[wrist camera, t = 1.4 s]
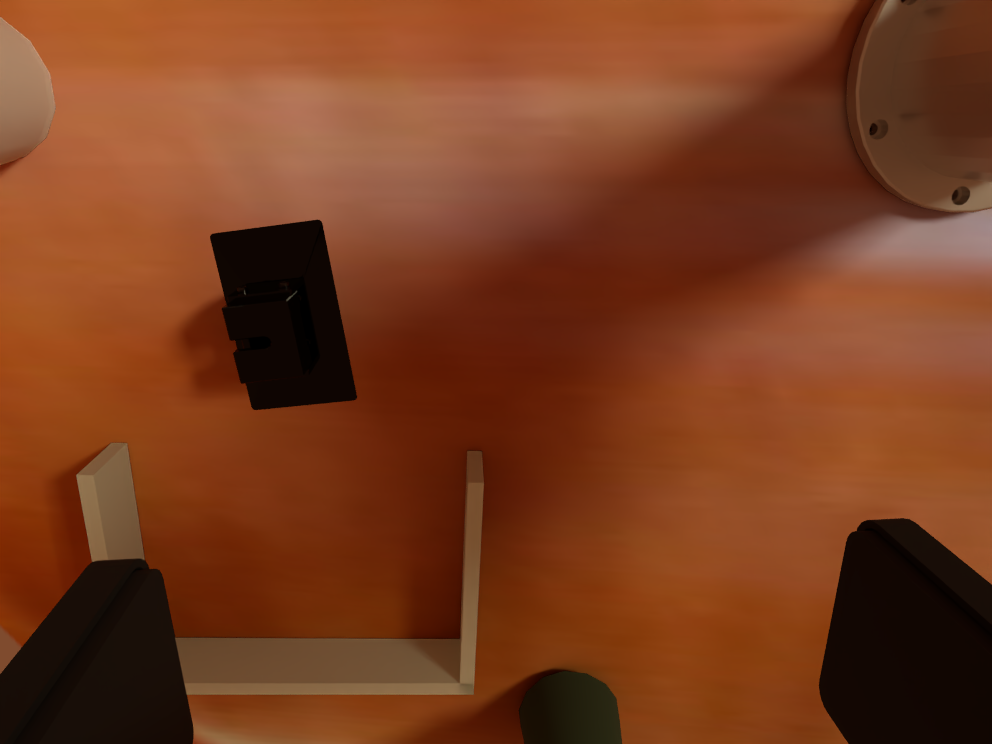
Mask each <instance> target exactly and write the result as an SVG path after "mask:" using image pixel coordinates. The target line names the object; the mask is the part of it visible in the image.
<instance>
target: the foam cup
mask: <svg viewBox="0 0 992 744" xmlns="http://www.w3.org/2000/svg"><path fill="white" fill-rule="evenodd" d="M55 109H56V108H55V101H54V95H53V89H52V82H51V76H50V73H49V71H48V69H47V68H46V66H45V64H44V63H43V61H42V60H41V58H40V56H39V55H38V53H37V51H36V50H35V48H34V46H33V45H32V43H31V41H30V40H29V39H27V38H26V37H25V36H24V35H22V34H21V33H20V32H19V31H17V30H16V29H15V28H13V27H12V26H11V25H10V24H8V23H7V22H6V21H5V20H3V19H2V18H1V17H0V165H2V164H5V163H8V162H12V161H15V160H17V159H18V158H21V157H25V156H26V155H27V154H28V153H30V152H31V151H32V150H33V149H34V148H35V147H36V146H38V145H39V144H40V143H41V142H42V141H43V140H44V139H46V137H47V134H48V131H49V128H50V125H51V121H52V118H53V115H54V112H55Z"/></svg>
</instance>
